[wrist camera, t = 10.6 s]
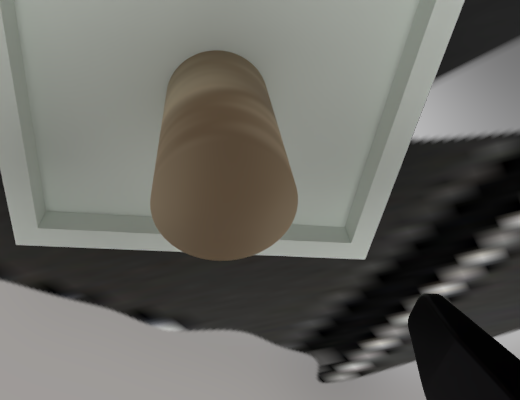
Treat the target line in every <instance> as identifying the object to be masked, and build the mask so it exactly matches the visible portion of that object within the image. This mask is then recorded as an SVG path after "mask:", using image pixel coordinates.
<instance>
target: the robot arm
mask: <svg viewBox="0 0 520 400" xmlns="http://www.w3.org/2000/svg"><path fill="white" fill-rule="evenodd" d="M408 328H409V332H410V337H411V341H412V345H413V349H414V353H415V358H416V362H417V365H418V370H419V374H420V379H421V382H422V386H423V390H424V393H425V396H426V399H427V400H520V360H519V359H518V358H517V357H516V356H514V355H513V354H512V353H511V352H509V351H508V350H507V349H506V348H504V347H503V346H502V345H501V344H500V343H499V342H497V341H496V340H495V339H494V338H493V337H491V336H490V335H489V334H488V333H486V332H485V331H484V330H483V329H482V328H480V327H479V326H478V325H477V324H476V323H474V322H473V321H472V320H471V319H469V318H468V317H467V316H466V315H465V314H463V313H462V312H461V311H460V310H459V309H457V308H456V307H455V306H454V305H452V304H451V303H450V302H449V301H448V300H446V299H445V298H444V297H443V296H441V295H439V294H422V295H420V296H419V298H418V300H417V302H416V304H415V306H414V308H413V310H412V312H411V314H410V316H409V319H408Z"/></svg>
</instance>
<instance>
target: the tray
mask: <svg viewBox="0 0 520 400" xmlns="http://www.w3.org/2000/svg"><path fill="white" fill-rule="evenodd" d="M464 1H465V0H0V171H1V175H2V180H3V185H4V190H5V194H6V199H7V204H8V209H9V213H10V218H11V223H12V228H13V233H14V237H15V242H16V245H30V246H54V247H78V248H102V249H126V250H150V251H174V252H182V251H181V250H179V249H177V248H176V247H174V246H173V245H172V244H170V243H169V242H168V241H167V240H166V239H165V238H164V237H163V236H162V235H161V233H160V232H159V231H158V229H157V227H156V226H155V223H154V221H153V218H152V214H151V210H150V198H151V190H152V184H153V177H154V171H155V164H156V157H157V151H158V144H159V138H160V131H161V125H162V118H163V112H164V105H165V99H166V92H167V87H168V83H169V81H170V78H171V76H172V75H173V73H174V71H175V70H176V69H177V68H178V66H179V65H181V64H182V63H183V62H184V61H185V60H187V59H188V58H190V57H192V56H194V55H196V54H199V53H201V52H206V51H213V50H220V51H227V52H232V53H235V54H237V55H239V56H242V57H243V58H245V59H246V60H248V61H249V62H250V63H252V64H253V65H254V66H255V67H256V68H257V70H258V71H259V72H260V74H261V75H262V77H263V79H264V81H265V84H266V88H267V91H268V94H269V98H270V101H271V104H272V108H273V111H274V114H275V118H276V121H277V124H278V128H279V131H280V134H281V137H282V141H283V144H284V147H285V151H286V154H287V157H288V161H289V164H290V167H291V171H292V174H293V177H294V181H295V184H296V187H297V193H298V206H297V212H296V215H295V218H294V220H293V222H292V224H291V226H290V227H289V229H288V230H287V232H286V233H285V234H284V235H283V236H282V237H281V238H280V239H279V240H278V241H277V242H276V243H275V244H273V245H272V246H270V247H269V248H267V249H265V250H264V251H262V252H260V253H257V254H255V255H270V256H294V257H318V258H342V259H365V258H366V256H367V253H368V251H369V248H370V245H371V243H372V240H373V238H374V235H375V232H376V230H377V227H378V225H379V222H380V219H381V217H382V214H383V212H384V209H385V206H386V204H387V201H388V199H389V196H390V193H391V191H392V188H393V186H394V183H395V180H396V178H397V175H398V173H399V170H400V167H401V165H402V162H403V160H404V157H405V154H406V152H407V149H408V147H409V144H410V141H411V139H412V136H413V133H414V131H415V128H416V125H417V123H418V120H419V118H420V115H421V113H422V110H423V108H424V105H425V102H426V100H427V97H428V95H429V92H430V89H431V87H432V84H433V82H434V79H435V76H436V74H437V71H438V69H439V66H440V63H441V61H442V58H443V55H444V53H445V50H446V48H447V45H448V42H449V40H450V37H451V35H452V32H453V29H454V27H455V24H456V22H457V19H458V16H459V14H460V11H461V9H462V6H463V3H464Z"/></svg>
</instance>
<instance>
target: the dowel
mask: <svg viewBox="0 0 520 400" xmlns="http://www.w3.org/2000/svg"><path fill="white" fill-rule="evenodd" d="M297 206H298V193H297V187H296V184H295V181H294V177H293V174H292V171H291V167H290V164H289V161H288V157H287V154H286V151H285V147H284V144H283V141H282V137H281V134H280V131H279V128H278V124H277V121H276V118H275V114H274V111H273V108H272V104H271V101H270V98H269V94H268V91H267V88H266V84H265V81H264V79H263V77H262V75H261V74H260V72H259V71H258V70H257V68H256V67H255V66H254V65H253V64H252V63H250V62H249V61H248V60H246V59H245V58H243V57H242V56H239V55H237V54H235V53H232V52H227V51H220V50H213V51H206V52H201V53H199V54H196V55H194V56H192V57H190V58H188V59H187V60H185V61H184V62H183V63H182V64H181V65H179V66H178V68H177V69H176V70H175V71H174V73H173V75H172V76H171V78H170V81H169V83H168V87H167V92H166V99H165V105H164V112H163V118H162V125H161V131H160V138H159V144H158V151H157V157H156V164H155V171H154V177H153V184H152V190H151V198H150V210H151V214H152V218H153V221H154V223H155V226H156V227H157V229H158V231H159V232H160V233H161V235H162V236H163V237H164V238H165V239H166V240H167V241H168V242H169V243H170V244H172V245H173V246H174V247H176V248H177V249H179V250H181V251H182V252H184V253H187V254H189V255H191V256H194V257H198V258H202V259H207V260H216V261H228V260H237V259H242V258H246V257H249V256H252V255H255V254H257V253H260V252H262V251H264V250H265V249H267V248H269V247H270V246H272V245H273V244H275V243H276V242H277V241H278V240H279V239H280V238H281V237H282V236H283V235H284V234H285V233H286V232H287V230H288V229H289V227H290V226H291V224H292V222H293V220H294V218H295V215H296V212H297Z"/></svg>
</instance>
